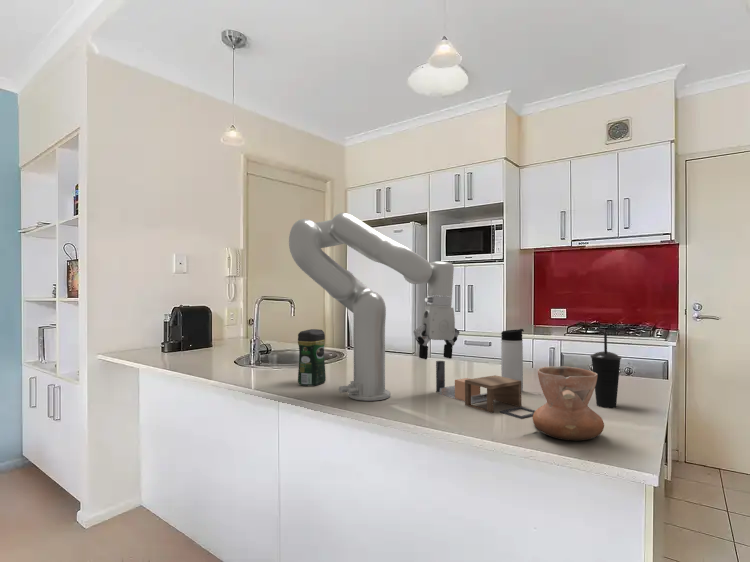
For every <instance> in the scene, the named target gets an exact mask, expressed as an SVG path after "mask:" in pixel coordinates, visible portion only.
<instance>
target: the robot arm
mask: <svg viewBox="0 0 750 562" xmlns="http://www.w3.org/2000/svg"><path fill="white" fill-rule="evenodd" d="M288 235H289V237H288V247H289V252H290V255H291V257H292V259H293V261H294V262H295V264H296V265H297V266H298V268H299V269H300V270H301V271H303V273H304V274H306V276H308V277H309V278H311V279H312V280H313V281H314V282H315V283H316V284H318V285H319V286H320V287H321V288H322V289H324V290H325V291H326V292H327V293H328V295H329V297H331V298H333V299H335V300H336V301H338V303H340V304H341V305H342V306H344V307H345V308H346V309H348V310H349V311H350V312H351V313H352V315H353V320H352V321H353V326H352V327H353V380H352V381H351V380H350V382H349V384H348V385H340V386H339V387H338V391H339V393H340V394H342V393H347V394H348V397H349V398H350V399H352V400H355V401H365V402H369V401H370V402H373V401H382V400H386V399H389V398H390V397H391V391H390V390H388V389H386V315H387V307H386V303H385V300H384V298H383V297H382V295H380V294H379V293H378V292H376V291H373V290H372V289H371V288H369V287H368V286H367V285H366V284H364V283H363V282H362V281H360V279H358V278H357V277H356V276H355V275H354V274H353V273H352V272H351V271H349V270H348V269H345V268H344V267H343V266H341V265H340V264H339V263H338V262H337V261H335V260H334V259H333V258H332V257H331V256H329V255H328V254H327V253H326V252H325V251H323V249H325V248H330V247H331V248H332V247H335V246H340V245H346V246H348V247H349V248H351V249H353V250H355V251H356V252H358V253H359V254H361V255H362V256H364V257H365V258H367V259H369V260H371V261H373V262H374V263H379V264H382V265H385V266H387V267H388V268H390V269H393V270H394V271H396V272H398V273H399V274H401V275H402V276H403V278H404V280H405V281H406V282H408V283H409V284H413V285H421V284H424V285H425V284H427V293H426V297H425V298H424V302H425V303H426V305H425V306H424V310H423V315H422V317H421V318H422V320H421V325H420V326H419V327H417V328H415V329H414V330H413V334H414V337H415V340H416V341H417V344H418V345H419V352H418V353H419V354H418V358H419V359H422V360H428V358H429V357H428V355H429V354H428V353H429V346H428V344H429V342H430V340H433V341H444V343H445V344H444V345H443V357H444V359H445V358H446V359H453V346H455V345H456V344H455V343H456V342H457V340H458V337H459V335H460V330H458V329H457V328H456V324H455V323H456V319H455V310H454V307H452V303H453V289H454V288H453V287H454V271H455V268H454V264H453V263H451V262H449V261H432V262H429V261H428V260H427V259H426V258H424V257H423V256H422V255H419V253H416V252H415V251H413V250H412V249H410V248H409V247H407V246H405V245H403V244H401V243H399V242H397V241H395V240H393V238H390V237H389V236H387V235H385V234H383V233H381V232H379V231H378V230H377V229H375V228H374V227H372V226H370V225H369V224H367V223H365V222H364V221H362V220H360V219H359V218H357V217H356V216H354V215H352V214H351V213H348V212H339V213H338V214H336V215H335V216H334V217H333V218H332V219H329V220H325V221H318V222H314V220H311V219H309V218H302V219H298V220H297V221H295V223H293V225H292V227H291V228H290V231H289V234H288Z"/></svg>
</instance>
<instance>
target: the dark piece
mask: <svg viewBox="0 0 750 562" xmlns="http://www.w3.org/2000/svg"><path fill="white" fill-rule="evenodd" d="M518 410H522V411H525V412H529V413H528V414H524V415H520V414H516V413H512V412H513V411H514V412H515V411H518ZM535 411H536V410H535V409H532V408H527V407H523V406H520V407H519V406H515V407H512V408H507V409H503V410H501V409H500V410H499V413H501V414H504V415H506V416H510V417H513V418H517V419H521V420H524V419H527V418H531V417H532V418H533V414H534V412H535Z"/></svg>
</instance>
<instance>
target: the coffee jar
mask: <svg viewBox="0 0 750 562" xmlns="http://www.w3.org/2000/svg"><path fill="white" fill-rule="evenodd" d="M297 345H298V349H299V350H298V370H297V371H298V372H297V384H299V385H301V386H303V387H309V386H310V387H312V386H315V387H316V386H319V385H321V384H324V383H325V382H326V381H327V380H326V379H327V377H326V376H327V375H326V365H325V363H326V362H325V361H326V360H325V345H326V335H325V331H323V329H316V328H313V329H307V330H302V331H299V332H298V333H297Z"/></svg>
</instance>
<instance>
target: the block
mask: <svg viewBox="0 0 750 562" xmlns="http://www.w3.org/2000/svg"><path fill="white" fill-rule="evenodd" d="M468 379H471V378H469V377H465V378H458V379H454V386H455V398H459V399H462V400H465V380H468ZM479 394H481V387H480V386H475V385H471V396H473V395H479Z"/></svg>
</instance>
